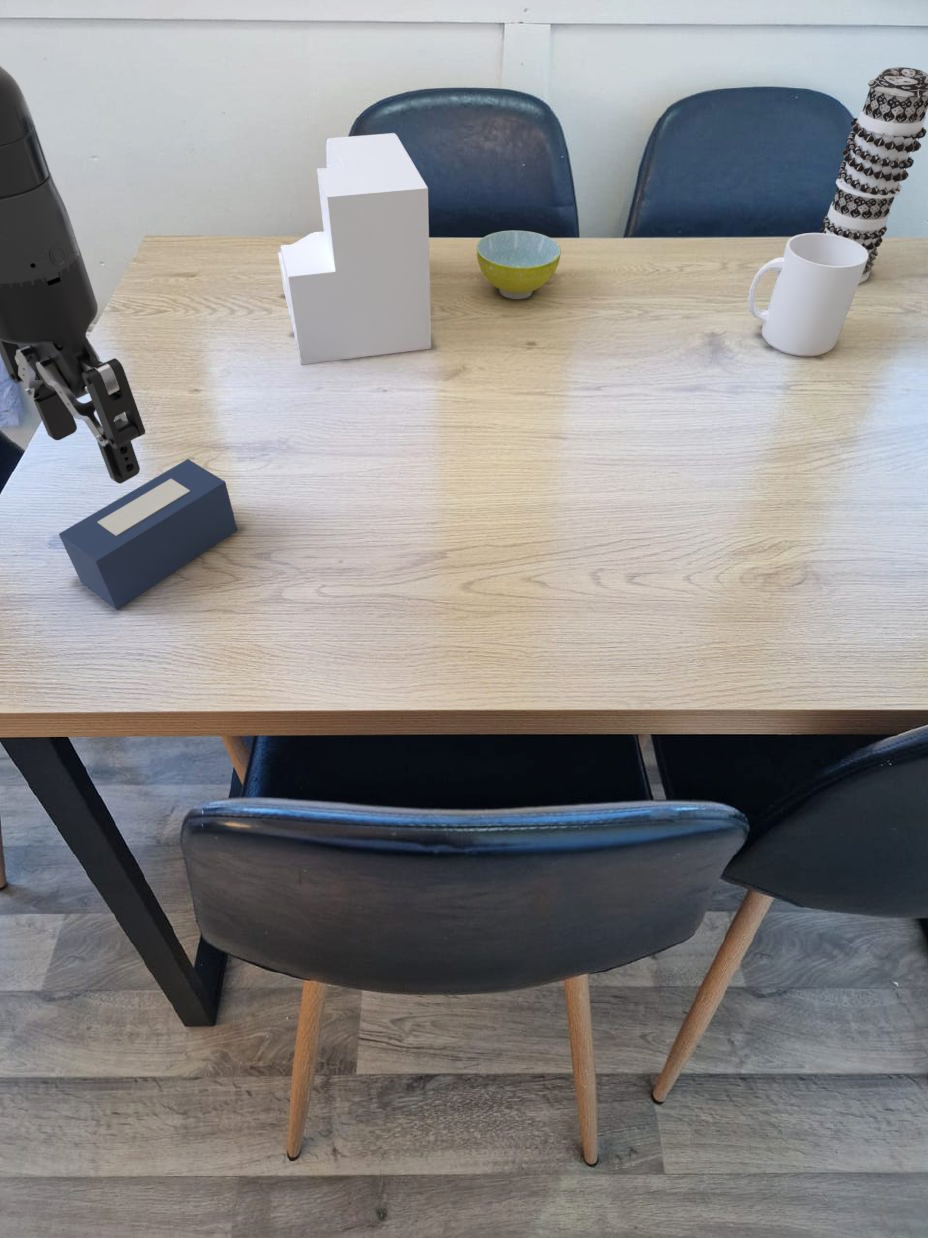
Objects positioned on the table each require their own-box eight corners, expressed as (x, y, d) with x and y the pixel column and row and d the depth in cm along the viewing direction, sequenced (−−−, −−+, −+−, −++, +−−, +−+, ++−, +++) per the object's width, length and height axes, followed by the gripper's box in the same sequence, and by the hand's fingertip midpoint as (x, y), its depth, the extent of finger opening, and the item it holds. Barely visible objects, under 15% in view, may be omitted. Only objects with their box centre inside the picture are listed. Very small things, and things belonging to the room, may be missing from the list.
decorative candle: (857, 292, 117) (933, 88, 99) (795, 272, 121) (857, 73, 103) (881, 269, 122) (957, 71, 104) (820, 251, 126) (884, 57, 107)
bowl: (572, 287, 117) (577, 243, 113) (528, 320, 111) (531, 274, 106) (505, 265, 121) (507, 222, 117) (459, 295, 115) (459, 251, 111)
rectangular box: (116, 610, 74) (95, 560, 70) (80, 582, 77) (57, 532, 72) (237, 530, 82) (225, 480, 77) (201, 507, 84) (187, 457, 80)
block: (279, 273, 119) (256, 124, 105) (392, 262, 122) (384, 114, 108) (301, 364, 103) (277, 201, 88) (431, 348, 106) (427, 187, 91)
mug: (845, 358, 105) (881, 266, 96) (752, 359, 105) (779, 268, 96) (820, 320, 111) (851, 232, 103) (732, 322, 111) (755, 233, 102)
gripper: (-92, 240, 56) (3, 442, 68) (25, 308, 50) (106, 516, 62) (12, 206, 60) (84, 403, 72) (131, 265, 54) (189, 469, 66)
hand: (94, 455), depth 67 cm, fingers open, 8 cm apart
